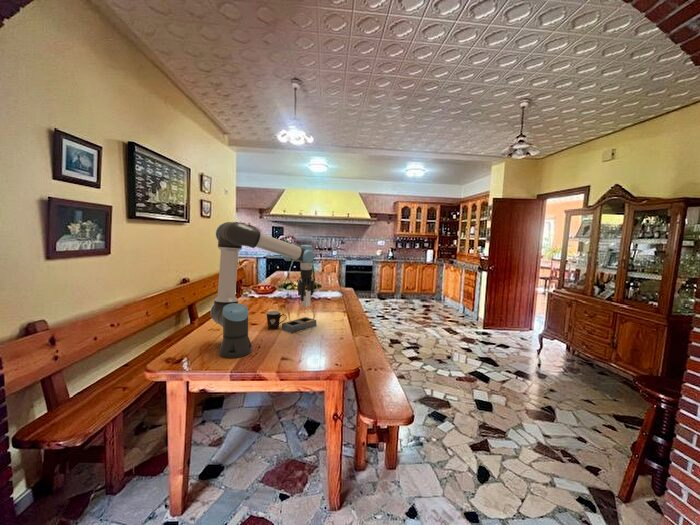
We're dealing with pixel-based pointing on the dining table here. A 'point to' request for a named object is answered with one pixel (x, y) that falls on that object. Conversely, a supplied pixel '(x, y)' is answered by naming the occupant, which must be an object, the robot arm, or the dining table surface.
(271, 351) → the dining table surface
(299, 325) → the grey cinder block
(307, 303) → the aluminium peg
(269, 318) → the coffee mug
